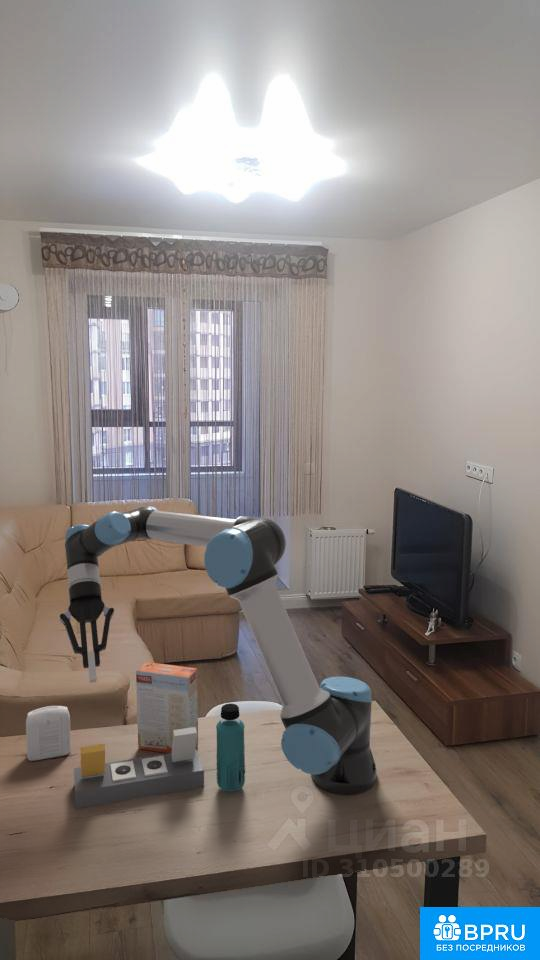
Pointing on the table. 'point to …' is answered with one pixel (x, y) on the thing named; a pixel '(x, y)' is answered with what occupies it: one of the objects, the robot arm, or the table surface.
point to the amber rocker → (92, 760)
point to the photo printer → (48, 733)
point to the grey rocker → (184, 744)
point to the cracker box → (165, 704)
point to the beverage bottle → (230, 749)
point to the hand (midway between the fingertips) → (93, 680)
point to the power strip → (137, 779)
